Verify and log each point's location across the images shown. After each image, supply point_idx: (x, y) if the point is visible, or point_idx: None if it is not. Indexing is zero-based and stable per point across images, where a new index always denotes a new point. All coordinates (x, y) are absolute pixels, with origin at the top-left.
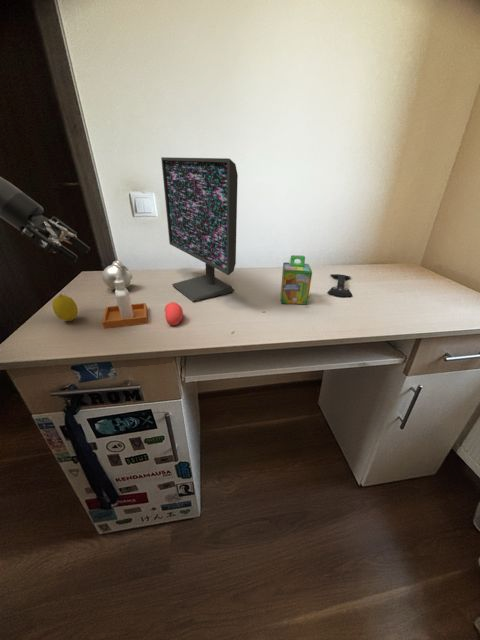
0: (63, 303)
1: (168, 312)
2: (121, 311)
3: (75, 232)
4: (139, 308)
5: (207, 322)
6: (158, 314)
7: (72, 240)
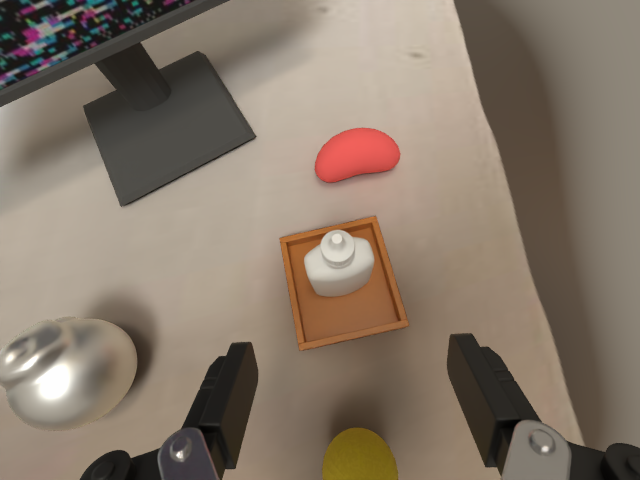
0: (389, 465)
1: (386, 150)
2: (370, 274)
3: (114, 461)
4: (291, 259)
5: (369, 100)
6: (322, 208)
7: (219, 458)
